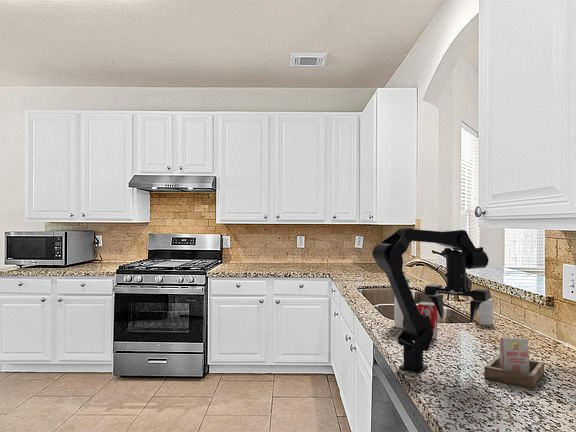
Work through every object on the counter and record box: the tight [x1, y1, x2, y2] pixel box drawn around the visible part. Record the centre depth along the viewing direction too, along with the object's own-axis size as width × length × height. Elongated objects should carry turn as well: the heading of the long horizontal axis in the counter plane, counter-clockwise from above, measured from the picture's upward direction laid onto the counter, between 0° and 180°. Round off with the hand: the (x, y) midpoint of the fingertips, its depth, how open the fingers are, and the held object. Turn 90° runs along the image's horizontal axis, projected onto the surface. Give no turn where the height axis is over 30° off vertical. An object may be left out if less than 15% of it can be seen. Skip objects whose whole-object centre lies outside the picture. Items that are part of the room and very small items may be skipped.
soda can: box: [417, 301, 438, 341], centre depth 162 cm, size 7×7×13 cm
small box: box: [474, 299, 494, 326], centre depth 185 cm, size 8×6×10 cm
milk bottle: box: [393, 277, 414, 330], centre depth 179 cm, size 8×8×20 cm
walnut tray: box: [483, 353, 545, 391], centre depth 122 cm, size 14×12×4 cm
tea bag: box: [499, 337, 530, 374], centre depth 122 cm, size 4×7×10 cm, turn 74°
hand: (456, 319), depth 135 cm, fingers open, 9 cm apart
